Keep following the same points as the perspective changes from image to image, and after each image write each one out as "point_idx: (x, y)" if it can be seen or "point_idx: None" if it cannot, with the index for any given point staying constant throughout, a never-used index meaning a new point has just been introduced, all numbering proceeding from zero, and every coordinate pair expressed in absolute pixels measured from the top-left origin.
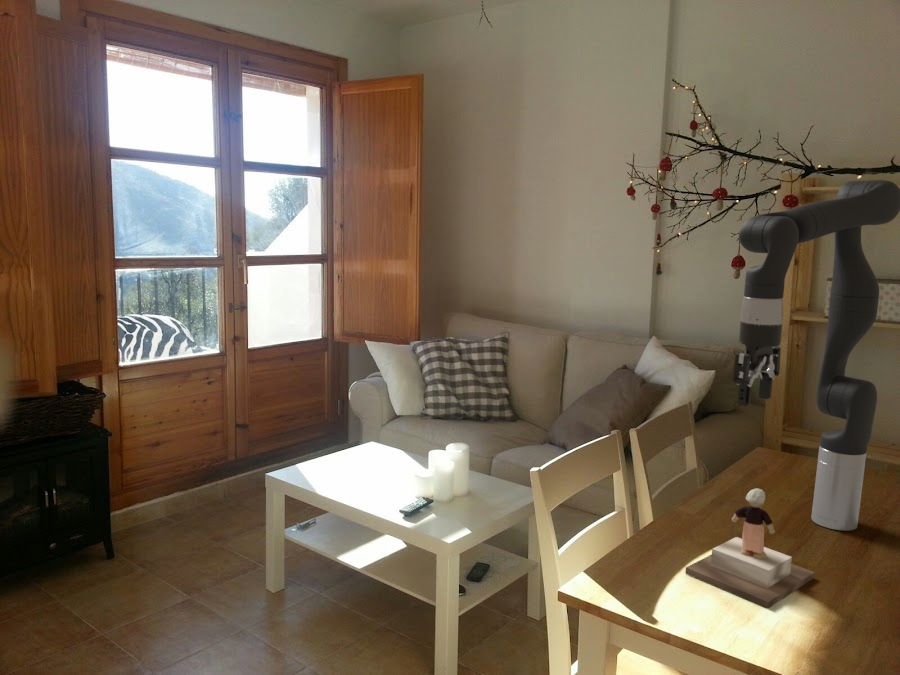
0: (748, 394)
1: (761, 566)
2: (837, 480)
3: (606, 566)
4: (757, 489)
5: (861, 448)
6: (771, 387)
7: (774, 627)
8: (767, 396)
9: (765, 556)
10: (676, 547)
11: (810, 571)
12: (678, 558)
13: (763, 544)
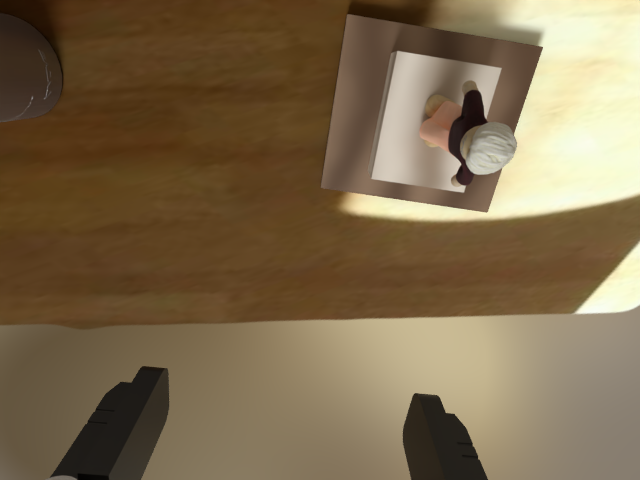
0: (459, 458)
1: (489, 87)
2: None
3: (532, 304)
4: (499, 150)
5: None
6: (111, 424)
7: (603, 12)
8: (162, 384)
9: (440, 96)
10: (389, 258)
11: (349, 22)
12: (431, 239)
13: (453, 103)
